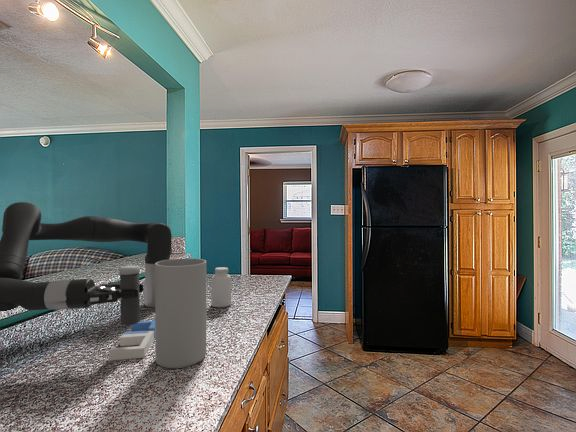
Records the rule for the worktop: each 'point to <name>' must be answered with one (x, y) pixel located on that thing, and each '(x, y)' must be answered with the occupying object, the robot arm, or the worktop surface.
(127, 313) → the grey capped cylinder
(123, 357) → the blue grey comb bracket
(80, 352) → the worktop surface
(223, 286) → the pill bottle
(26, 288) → the robot arm
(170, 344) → the cylinder vase
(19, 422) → the worktop surface
